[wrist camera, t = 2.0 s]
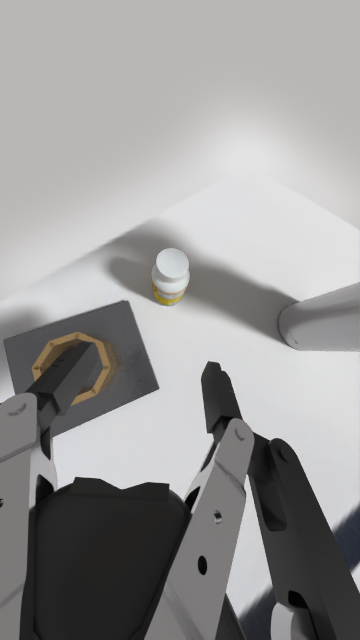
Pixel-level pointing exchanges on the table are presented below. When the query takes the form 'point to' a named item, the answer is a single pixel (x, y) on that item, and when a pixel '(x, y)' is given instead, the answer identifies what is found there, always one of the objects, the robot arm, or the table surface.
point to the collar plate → (109, 372)
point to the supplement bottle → (170, 276)
